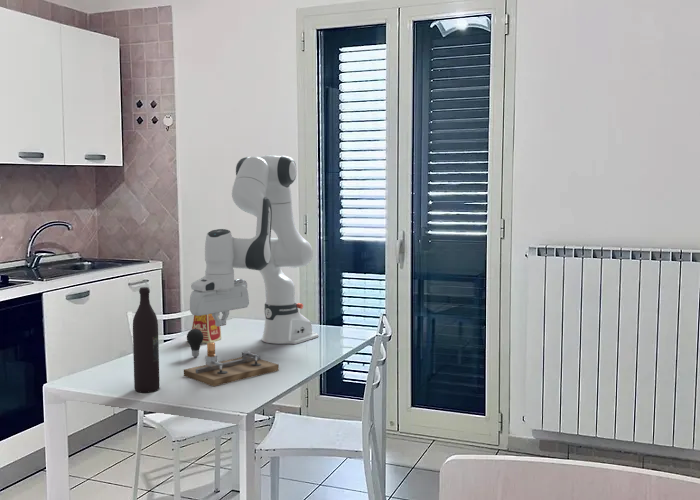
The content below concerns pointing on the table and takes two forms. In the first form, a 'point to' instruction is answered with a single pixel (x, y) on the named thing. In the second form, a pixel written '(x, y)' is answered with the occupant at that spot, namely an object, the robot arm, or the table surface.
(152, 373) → the wine bottle
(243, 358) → the bar
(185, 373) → the brown wooden board
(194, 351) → the black light bulb
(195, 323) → the milk carton
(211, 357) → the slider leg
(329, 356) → the table surface
